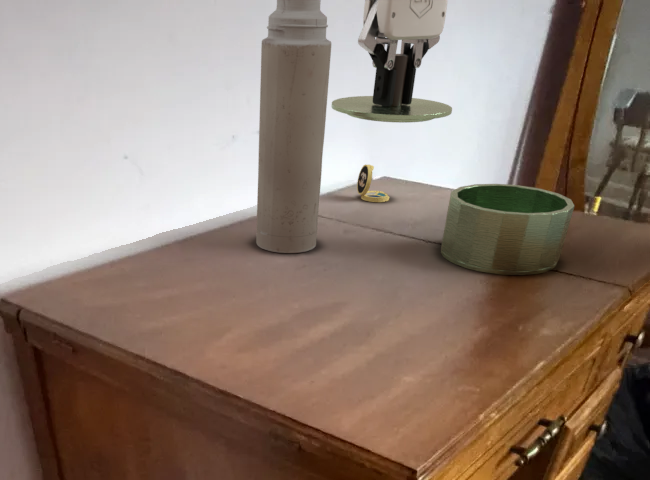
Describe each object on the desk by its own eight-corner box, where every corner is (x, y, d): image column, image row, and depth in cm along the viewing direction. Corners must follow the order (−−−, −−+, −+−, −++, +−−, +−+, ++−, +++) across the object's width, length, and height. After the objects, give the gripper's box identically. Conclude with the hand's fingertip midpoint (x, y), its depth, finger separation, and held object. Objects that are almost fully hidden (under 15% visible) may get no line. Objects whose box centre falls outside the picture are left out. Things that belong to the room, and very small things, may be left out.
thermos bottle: (291, 231, 100) (306, -24, 82) (328, 247, 95) (351, -22, 77) (244, 240, 96) (249, -24, 79) (279, 257, 91) (293, -22, 74)
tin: (492, 233, 101) (504, 179, 97) (580, 262, 92) (598, 204, 87) (417, 249, 95) (426, 192, 90) (503, 283, 86) (519, 221, 81)
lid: (393, 102, 104) (400, 46, 99) (476, 119, 94) (487, 58, 89) (307, 109, 97) (311, 50, 93) (386, 129, 87) (394, 64, 83)
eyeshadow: (392, 201, 114) (397, 167, 110) (362, 202, 113) (366, 168, 110) (383, 194, 117) (387, 161, 114) (354, 195, 116) (357, 161, 113)
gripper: (385, -85, 77) (363, 113, 88) (488, -78, 84) (456, 104, 96) (340, -84, 82) (325, 104, 93) (441, -77, 89) (416, 96, 100)
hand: (391, 102), depth 94 cm, fingers closed on lid, 2 cm apart
